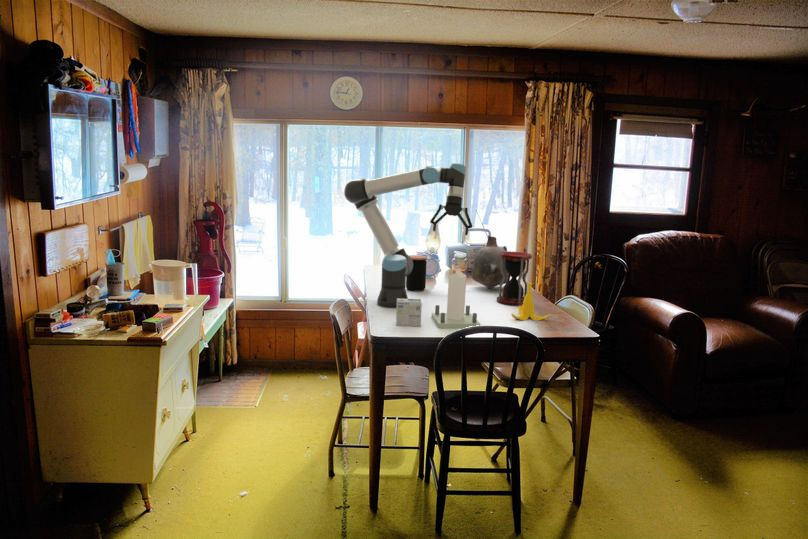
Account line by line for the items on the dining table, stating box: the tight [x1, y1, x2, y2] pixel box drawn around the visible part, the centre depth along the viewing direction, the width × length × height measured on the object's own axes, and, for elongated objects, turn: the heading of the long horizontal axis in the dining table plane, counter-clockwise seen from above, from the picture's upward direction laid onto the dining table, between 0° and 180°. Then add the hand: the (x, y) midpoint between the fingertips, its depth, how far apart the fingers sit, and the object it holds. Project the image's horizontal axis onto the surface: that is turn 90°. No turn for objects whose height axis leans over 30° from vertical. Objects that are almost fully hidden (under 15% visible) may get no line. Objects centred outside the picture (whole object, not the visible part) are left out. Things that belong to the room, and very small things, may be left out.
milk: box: [446, 267, 467, 321], centre depth 277 cm, size 6×6×22 cm
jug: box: [471, 234, 508, 289], centre depth 355 cm, size 24×21×30 cm
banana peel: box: [510, 282, 552, 321], centre depth 291 cm, size 17×19×17 cm
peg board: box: [431, 304, 481, 329], centre depth 279 cm, size 18×18×6 cm
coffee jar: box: [405, 254, 428, 292], centre depth 345 cm, size 11×11×18 cm
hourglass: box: [496, 250, 533, 307], centre depth 323 cm, size 16×16×25 cm
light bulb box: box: [395, 298, 423, 327], centre depth 273 cm, size 11×7×11 cm, turn 92°
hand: (449, 240), depth 306 cm, fingers open, 13 cm apart
